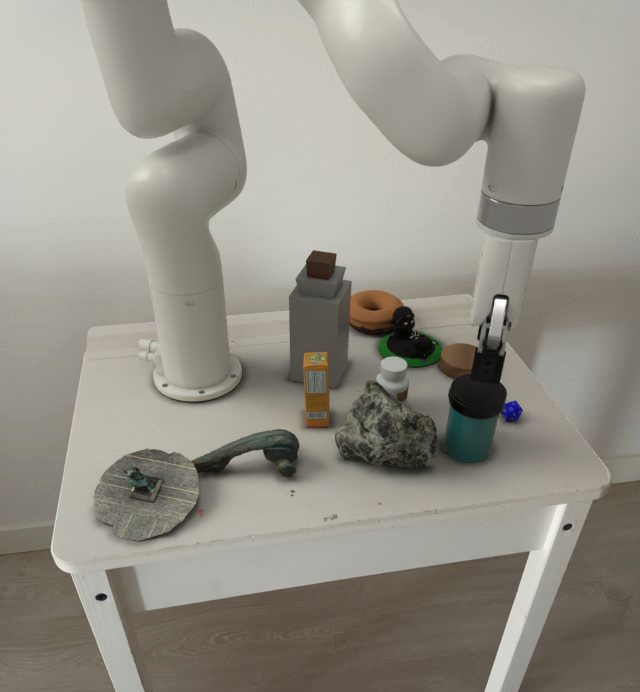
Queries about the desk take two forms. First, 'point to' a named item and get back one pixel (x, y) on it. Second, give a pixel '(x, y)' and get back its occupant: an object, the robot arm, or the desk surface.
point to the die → (511, 411)
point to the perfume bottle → (320, 315)
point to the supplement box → (316, 389)
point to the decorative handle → (273, 443)
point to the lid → (476, 398)
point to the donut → (373, 310)
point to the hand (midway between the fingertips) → (487, 359)
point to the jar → (469, 437)
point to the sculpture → (146, 493)
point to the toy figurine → (409, 341)
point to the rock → (387, 431)
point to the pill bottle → (394, 377)
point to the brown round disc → (457, 359)
